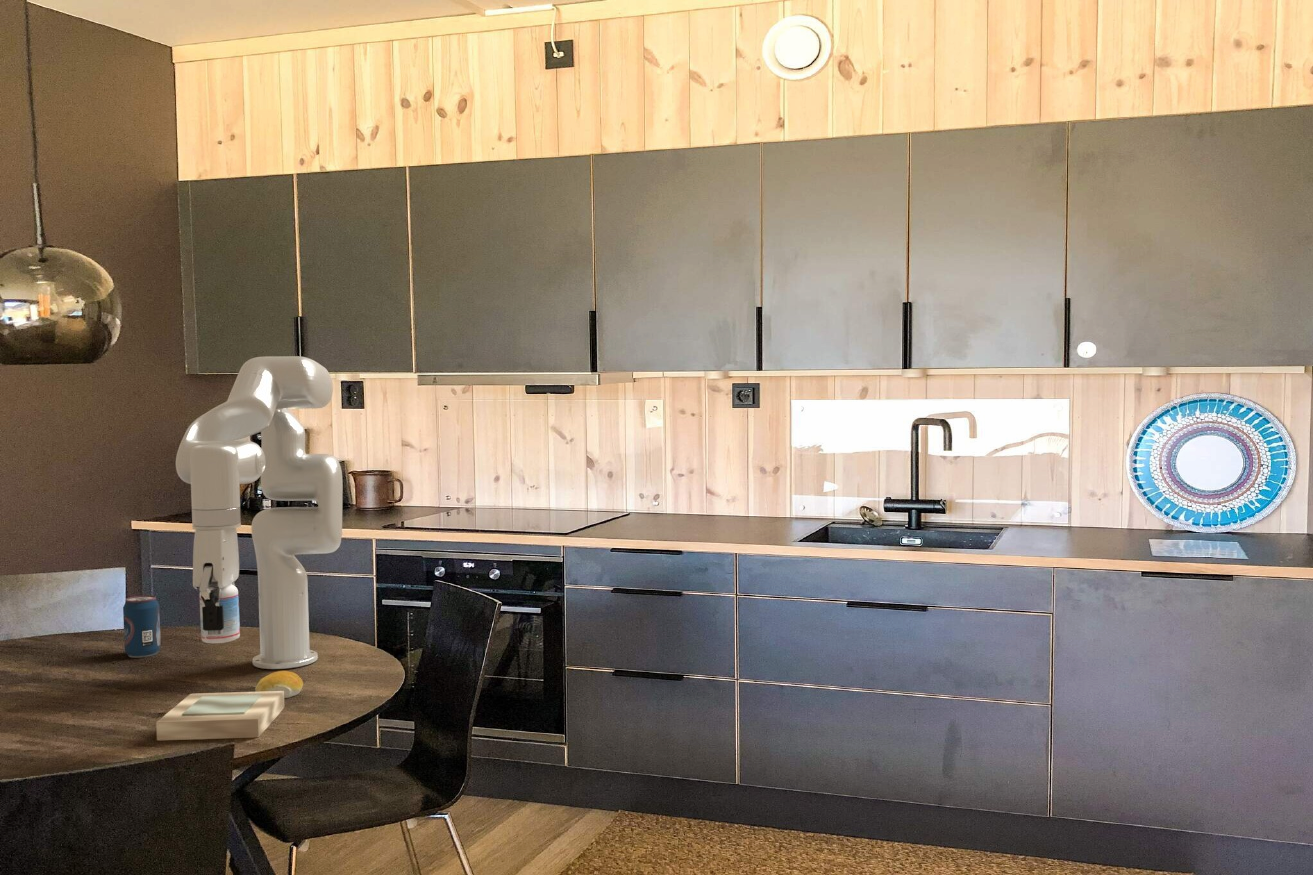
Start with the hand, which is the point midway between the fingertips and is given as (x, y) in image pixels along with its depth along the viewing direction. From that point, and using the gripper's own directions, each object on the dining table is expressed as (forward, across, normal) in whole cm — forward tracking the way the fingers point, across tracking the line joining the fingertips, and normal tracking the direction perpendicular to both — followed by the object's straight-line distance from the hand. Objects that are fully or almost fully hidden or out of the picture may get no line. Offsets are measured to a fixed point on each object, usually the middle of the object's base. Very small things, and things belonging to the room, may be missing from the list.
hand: (220, 624), depth 188 cm
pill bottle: (+3, 0, 0) cm, 3 cm away
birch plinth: (+17, 0, 0) cm, 17 cm away
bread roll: (+17, -18, +5) cm, 25 cm away
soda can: (+17, -50, -32) cm, 62 cm away
